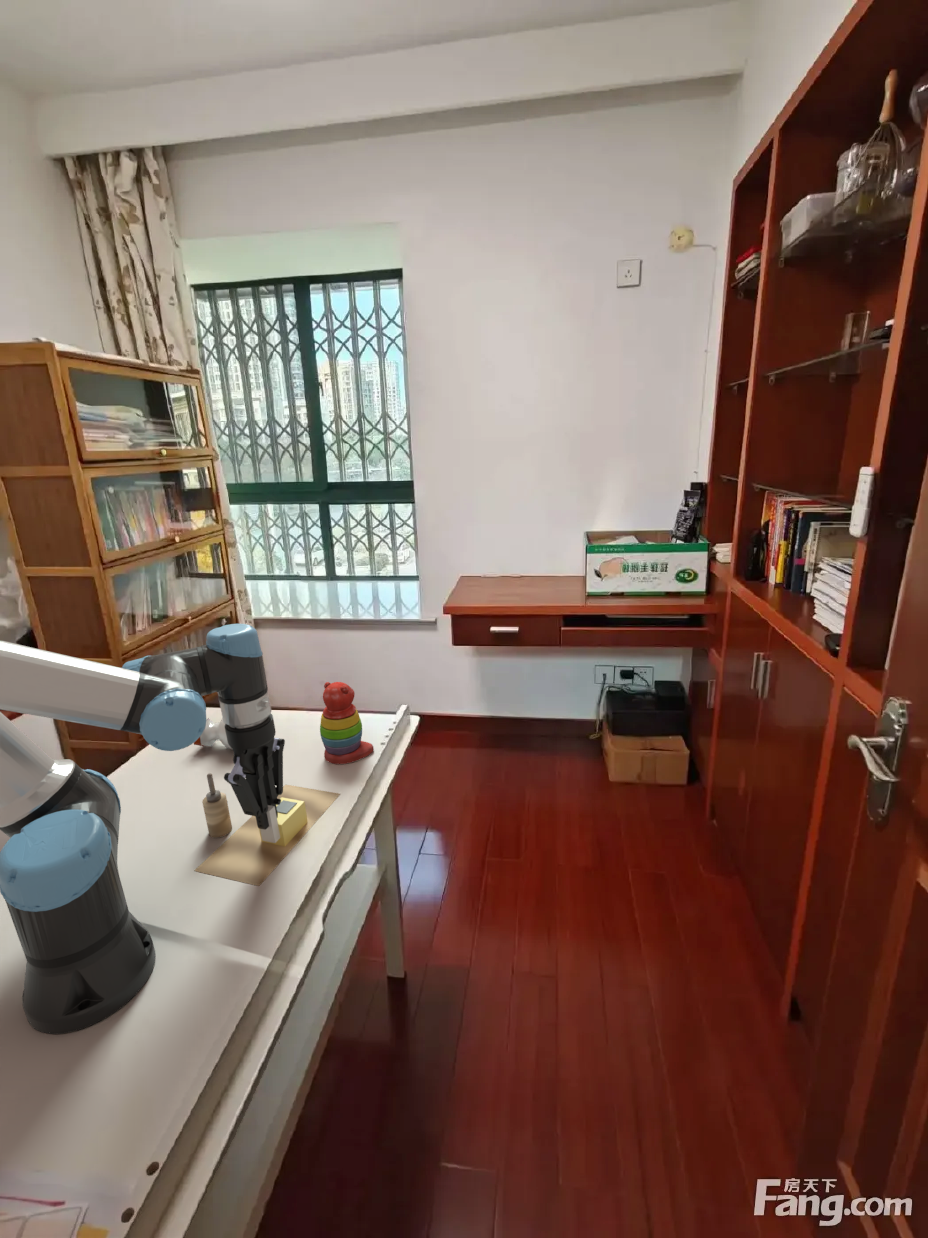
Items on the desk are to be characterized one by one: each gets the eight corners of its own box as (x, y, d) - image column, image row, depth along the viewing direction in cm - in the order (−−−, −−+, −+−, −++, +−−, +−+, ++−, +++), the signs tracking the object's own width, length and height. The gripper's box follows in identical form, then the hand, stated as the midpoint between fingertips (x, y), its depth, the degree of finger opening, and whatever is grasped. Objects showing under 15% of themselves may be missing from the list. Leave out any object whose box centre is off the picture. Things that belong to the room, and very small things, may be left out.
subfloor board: (273, 895, 93) (272, 889, 92) (183, 873, 98) (182, 868, 98) (352, 800, 116) (351, 795, 116) (276, 787, 122) (275, 782, 121)
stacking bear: (377, 749, 135) (370, 679, 129) (346, 770, 127) (337, 696, 121) (344, 738, 141) (336, 670, 135) (312, 757, 133) (302, 686, 127)
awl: (223, 844, 105) (210, 781, 101) (205, 841, 106) (191, 778, 102) (237, 831, 109) (225, 769, 105) (220, 827, 110) (208, 766, 106)
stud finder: (285, 846, 102) (281, 824, 100) (261, 841, 103) (257, 819, 102) (307, 822, 108) (304, 800, 107) (285, 817, 110) (281, 796, 108)
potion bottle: (262, 754, 138) (204, 760, 140) (270, 718, 144) (214, 724, 146) (243, 738, 130) (182, 744, 132) (252, 700, 136) (193, 706, 138)
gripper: (240, 740, 87) (265, 869, 94) (291, 702, 99) (310, 819, 106) (200, 734, 90) (228, 860, 97) (255, 698, 101) (276, 813, 108)
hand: (271, 839), depth 101 cm, fingers closed
